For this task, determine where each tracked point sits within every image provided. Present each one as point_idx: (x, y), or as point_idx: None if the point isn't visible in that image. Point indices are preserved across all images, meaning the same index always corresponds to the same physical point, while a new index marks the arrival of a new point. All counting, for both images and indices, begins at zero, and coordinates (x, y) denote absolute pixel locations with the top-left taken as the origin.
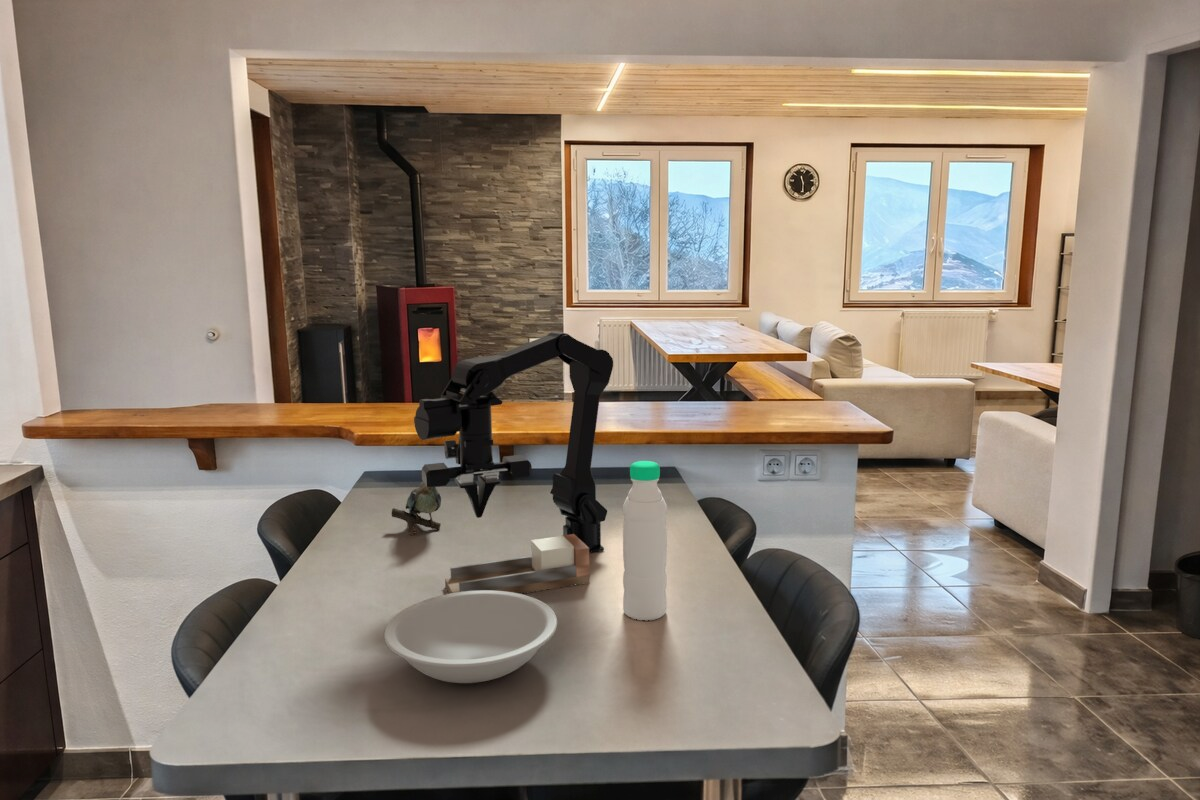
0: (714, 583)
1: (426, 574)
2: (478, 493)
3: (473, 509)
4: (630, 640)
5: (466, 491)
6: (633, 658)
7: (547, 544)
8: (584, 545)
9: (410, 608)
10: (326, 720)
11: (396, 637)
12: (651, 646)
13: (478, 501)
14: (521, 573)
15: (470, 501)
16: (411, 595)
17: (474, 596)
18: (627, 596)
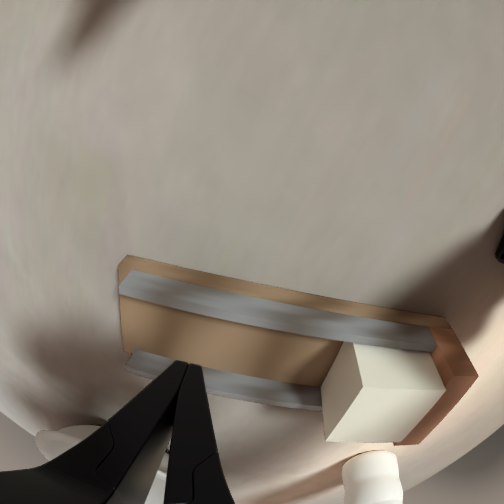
0: (486, 426)
1: (104, 146)
2: (168, 468)
3: (152, 383)
4: (304, 482)
5: (68, 458)
6: (281, 493)
7: (369, 421)
8: (425, 433)
9: (49, 437)
10: (29, 419)
11: (49, 455)
12: (311, 489)
13: (152, 480)
14: (269, 402)
15: (119, 414)
16: (60, 253)
17: None
18: (345, 487)
